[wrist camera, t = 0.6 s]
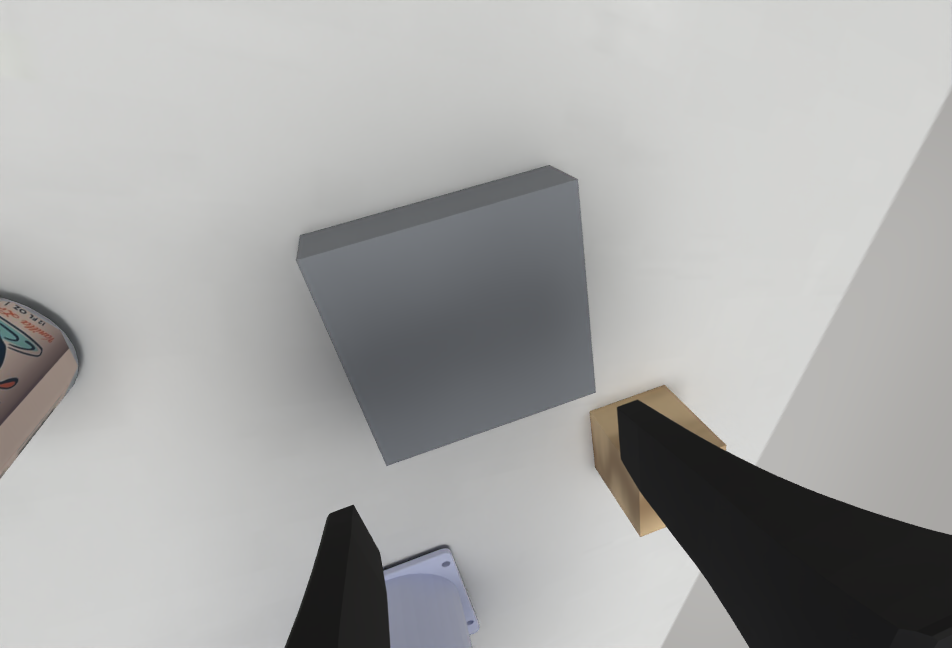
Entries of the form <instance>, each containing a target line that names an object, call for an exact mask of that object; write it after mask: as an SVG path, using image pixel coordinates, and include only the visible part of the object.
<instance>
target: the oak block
mask: <svg viewBox="0 0 952 648" xmlns="http://www.w3.org/2000/svg"><path fill="white" fill-rule="evenodd" d="M637 399H638V400H640V401H641V402H643V403H645V404H646V405H648V406H650V407H651V408H653V409H655V410H656V411H658V412H659V413H661V414H663V415H664V416H666V417H668V418H669V419H671V420H673V421H674V422H676V423H678V424H679V425H681V426H683V427H684V428H686V429H688V430H689V431H691V432H693V433H695V434H696V435H698V436H700V437H702V438H703V439H705V440H707V441H709V442H711V443H712V444H714V445H716V446H718V447H720V448H721V449H723V450H725V451H726V444H725V443H724V442H723V441H722V440H720V439H719V438H718V437H717V436H716V435H715V434H714V433H713V432H712V431H711V430H710V429H709V428H708V427H707V426H706V425H705V424H704V423H703V422H702V421H701V420H700V419H699V418H698V417H697V416H696V415H695V414H694V413H693V412H692V411H691V410H690V409H689V408H688V407H687V406H686V405H685V404H684V403H683V402H682V401H680V400H679V399H678V398H677V397H676V396H675V395H674V394H673V393H672V392H671V391H670V390H669V389H668V388H667V387H666V386H665V385H663V386H660V387H657V388H654V389H652V390H649V391H646V392H643V393H640V394H638V395H635V396H632V397H629V398H626V399H623V400H621V401H618V402H615V403H612V404H609V405H607V406H604V407H601V408H598V409H595V410H592V411H590V420H591V430H592V441H593V451H594V462H595V468H596V470H597V471H598V473H599V474H600V476H601V477H602V479H603V480H604V482H605V483H606V485H607V487H608V488H609V490H610V491H611V493H612V494H613V496H614V497H615V499H616V500H617V502H618V503H619V505H620V507H621V508H622V510H623V511H624V513H625V514H626V516H627V517H628V519H629V520H630V522H631V523H632V525H633V527H634V528H635V530H636V531H637V533H638V534H639V536H640V537H642V536H644V535H647V534H649V533H652V532H654V531H657V530H660V529H662V528H665V527H666V525H665V524H664V523H663V522H662V520H661V519H660V518H659V516H658V515H657V514H656V512H655V511H654V510H653V508H652V507H651V506H650V505H649V503H648V502H647V501H646V499H645V498H644V497H643V495H642V494H641V492H640V491H639V489H638V488H637V486H636V484H635V483H634V481H633V479H632V478H631V476H630V474H629V473H628V471H627V469H626V468H625V466H624V464H623V462H622V461H621V457H620V444H619V431H618V418H617V407H618V406H621V405H624V404H626V403H629V402H632V401H634V400H637Z"/></svg>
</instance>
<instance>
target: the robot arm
mask: <svg viewBox="0 0 952 648" xmlns="http://www.w3.org/2000/svg"><path fill="white" fill-rule="evenodd" d="M617 418H618V431H619V444H620V457H621V461H622V462H623V464H624V466H625V468H626V469H627V471H628V473H629V474H630V476H631V478H632V479H633V481H634V483H635V484H636V486H637V488H638V489H639V491H640V492H641V494H642V495H643V497H644V498H645V499H646V501H647V502H648V503H649V505H650V506H651V507H652V508H653V510H654V511H655V512H656V514H657V515H658V516H659V518H660V519H661V520H662V522H663V523H664V524H665V525H666V527H667V528H668V529H669V531H670V532H671V533H672V535H673V536H674V537H675V538H676V540H677V541H678V542H679V544H680V545H681V546H682V547H683V549H684V550H685V551H686V553H687V554H688V555H689V557H690V558H691V559H692V560H693V562H694V563H695V564H696V566H697V567H698V568H699V570H700V571H701V573H702V574H703V575H704V577H705V578H706V579H707V581H708V582H709V584H710V586H711V587H712V589H713V590H714V592H715V593H716V595H717V596H718V598H719V600H720V601H721V603H722V604H723V606H724V607H725V609H726V610H727V612H728V613H729V615H730V617H731V618H732V620H733V622H734V623H735V625H736V626H737V628H738V630H739V631H740V633H741V635H742V636H743V638H744V639H745V641H746V643H747V644H748V646H749V648H952V535H949V534H945V533H941V532H937V531H933V530H929V529H926V528H922V527H918V526H915V525H912V524H908V523H905V522H902V521H899V520H895V519H892V518H889V517H885V516H882V515H879V514H876V513H873V512H870V511H867V510H864V509H861V508H858V507H855V506H853V505H850V504H847V503H844V502H841V501H838V500H836V499H833V498H830V497H827V496H825V495H822V494H819V493H816V492H814V491H812V490H809V489H807V488H804V487H802V486H799V485H797V484H795V483H792V482H790V481H788V480H785V479H783V478H781V477H778V476H776V475H774V474H772V473H769V472H767V471H765V470H763V469H761V468H759V467H757V466H755V465H753V464H751V463H749V462H747V461H745V460H743V459H741V458H739V457H737V456H735V455H733V454H731V453H729V452H727V451H725V450H723V449H721V448H720V447H718V446H716V445H714V444H712V443H711V442H709V441H707V440H705V439H703V438H702V437H700V436H698V435H696V434H695V433H693V432H691V431H689V430H688V429H686V428H684V427H683V426H681V425H679V424H678V423H676V422H674V421H673V420H671V419H669V418H668V417H666V416H664V415H663V414H661V413H659V412H658V411H656V410H655V409H653V408H651V407H650V406H648V405H646V404H645V403H643V402H641V401H640V400H638V399H637V400H634V401H632V402H629V403H626V404H624V405H621V406H618V407H617ZM479 628H480V626H479V622H478V620H477V617H476V615H475V612H474V609H473V607H472V604H471V602H470V599H469V596H468V594H467V591H466V589H465V586H464V584H463V581H462V578H461V576H460V573H459V571H458V568H457V566H456V563H455V560H454V558H453V555H452V553H451V551H450V549H447V548H443V549H440V550H437V551H434V552H432V553H429V554H426V555H424V556H421V557H418V558H416V559H413V560H411V561H408V562H405V563H403V564H400V565H397V566H395V567H392V568H389V569H387V570H384V571H383V567H382V561H381V556H380V552H379V550H378V548H377V546H376V544H375V543H374V541H373V539H372V537H371V535H370V534H369V532H368V530H367V528H366V526H365V525H364V523H363V521H362V519H361V517H360V515H359V514H358V512H357V510H356V508H355V506H354V505H351V506H349V507H346V508H343V509H340V510H338V511H335V512H332V513H330V514H329V515H328V517H327V520H326V524H325V527H324V531H323V535H322V539H321V542H320V546H319V549H318V553H317V556H316V559H315V563H314V566H313V569H312V573H311V576H310V579H309V582H308V585H307V588H306V591H305V594H304V597H303V600H302V603H301V606H300V608H299V611H298V614H297V617H296V619H295V622H294V625H293V627H292V630H291V632H290V635H289V638H288V640H287V643H286V645H285V648H472V644H471V640H470V636H469V635H471V634H474V633H476V632H477V631H478V630H479Z"/></svg>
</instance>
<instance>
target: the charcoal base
mask: <svg viewBox="0 0 952 648" xmlns="http://www.w3.org/2000/svg"><path fill="white" fill-rule="evenodd" d="M296 261H297V263H298V266H299V268H300V270H301V273H302V275H303V277H304V279H305V282H306V284H307V286H308V288H309V291H310V293H311V295H312V298H313V300H314V302H315V304H316V307H317V309H318V311H319V313H320V316H321V318H322V320H323V323H324V325H325V327H326V329H327V332H328V334H329V336H330V338H331V341H332V343H333V345H334V348H335V350H336V352H337V354H338V357H339V359H340V361H341V363H342V366H343V368H344V370H345V373H346V375H347V377H348V379H349V382H350V384H351V386H352V388H353V391H354V393H355V395H356V398H357V400H358V402H359V404H360V407H361V409H362V411H363V413H364V416H365V418H366V420H367V423H368V425H369V427H370V429H371V432H372V434H373V436H374V438H375V441H376V443H377V445H378V448H379V450H380V452H381V454H382V457H383V459H384V461H385V464H386V466H388V465H391V464H394V463H396V462H399V461H402V460H405V459H408V458H411V457H413V456H416V455H419V454H422V453H425V452H428V451H431V450H433V449H436V448H439V447H442V446H445V445H448V444H451V443H453V442H456V441H459V440H462V439H465V438H468V437H470V436H473V435H476V434H479V433H482V432H485V431H488V430H490V429H493V428H496V427H499V426H502V425H505V424H507V423H510V422H513V421H516V420H519V419H522V418H525V417H527V416H530V415H533V414H536V413H539V412H542V411H545V410H547V409H550V408H553V407H556V406H559V405H562V404H564V403H567V402H570V401H573V400H576V399H579V398H582V397H584V396H587V395H590V394H593V393H596V390H595V378H594V366H593V354H592V342H591V330H590V318H589V306H588V294H587V282H586V271H585V259H584V247H583V235H582V223H581V211H580V199H579V187H578V179H576V178H574V177H572V176H570V175H568V174H566V173H564V172H562V171H560V170H558V169H556V168H554V167H552V166H550V165H549V166H545V167H541V168H538V169H534V170H531V171H527V172H524V173H520V174H517V175H513V176H509V177H506V178H502V179H499V180H495V181H492V182H488V183H485V184H481V185H478V186H474V187H470V188H467V189H463V190H460V191H456V192H453V193H449V194H446V195H442V196H439V197H435V198H431V199H428V200H424V201H421V202H417V203H414V204H410V205H407V206H403V207H400V208H396V209H392V210H389V211H385V212H382V213H378V214H375V215H371V216H368V217H364V218H361V219H357V220H353V221H350V222H346V223H343V224H339V225H336V226H332V227H329V228H325V229H321V230H318V231H314V232H311V233H307V234H304V235H300V239H299V245H298V252H297V258H296Z"/></svg>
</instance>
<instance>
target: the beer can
mask: <svg viewBox="0 0 952 648" xmlns="http://www.w3.org/2000/svg"><path fill="white" fill-rule="evenodd" d="M78 365H79V364H78V358H77V354H76V351H75V348H74V347H73V345H72V343H71V342H70V340H69V339H68V337H67V336H66V334H65V333H64V332H63V331H62V330H61V329H60V328H59V327H58V326H57V325H56V324H55V323H53V322H52V321H51V320H50V319H48V318H46V317H45V316H43V315H41V314H40V313H38V312H36V311H35V310H33V309H31V308H29V307H27V306H25V305H22V304H20V303H17V302H14V301H11V300H8V299H5V298H0V479H1V477H2V476H3V475H4V473H5V472H6V471H7V470H8V468H9V467H10V466H11V464H12V463H13V462H14V461H15V459H16V458H17V457H18V455H19V454H20V453H21V452H22V450H23V449H24V448H25V446H26V445H27V444H28V443H29V441H30V440H31V439H32V437H33V436H34V435H35V434H36V432H37V431H38V430H39V428H40V427H41V426H42V425H43V423H44V422H45V421H46V419H47V418H48V417H49V416H50V414H51V413H52V412H53V410H54V409H55V408H56V407H57V405H58V404H59V403H60V401H61V400H62V399H63V397H64V396H65V395H66V394H67V393H68V391H69V390H70V389H71V388H72V386H73V385H74V383H75V380H76V378H77V375H78Z"/></svg>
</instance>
